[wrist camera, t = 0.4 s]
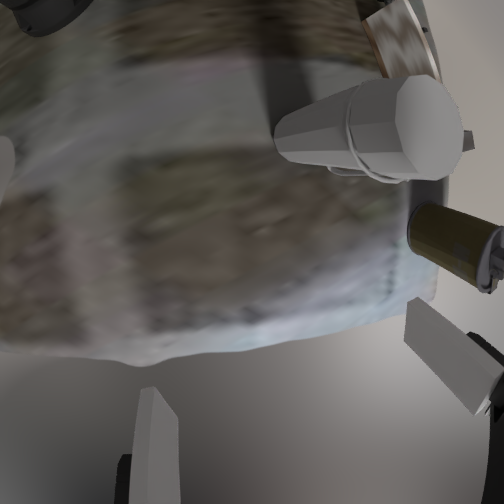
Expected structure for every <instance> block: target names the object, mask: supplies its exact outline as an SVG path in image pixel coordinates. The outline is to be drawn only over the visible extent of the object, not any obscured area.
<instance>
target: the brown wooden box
mask: <svg viewBox="0 0 504 504" xmlns="http://www.w3.org/2000/svg"><path fill="white" fill-rule="evenodd" d="M361 23H362V25H363V27H364V29H365V32H366V34H367V36H368V39H369V41H370V44H371V46H372V49H373V51H374V54H375V56H376V59H377V62H378V64H379V67H380V70H381V73H382V76H383V78H388V79H392V78H399V77H407V76H416V75H429V76H430V77H432V78H433V79H435V80H436V81H438V82H439V83H441V80H440V77H439V74H438V71H437V68H436V65H435V62H434V59H433V56H432V54H431V51H430V48H429V46H428V43H427V41H426V38H425V36H424V33H423V31H422V29H421V26H420V24H419V22H418V20H417V18H416V16H415V14H414V11H413V9H412V7H411V5H410V4H409V2H408V0H396V1H394V2H392V3H391V4H389V5H387V6H386V7H384V8H382V9H381V10H379V11H377V12H376V13H374V14H373V15H371V16H370V17H368V18H366V19H365V20H363V21H362V22H361ZM472 149H475V147H474V141H473V135H472V131H465V130H464V138H463V150H462V152H464V151H468V150H472Z"/></svg>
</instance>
